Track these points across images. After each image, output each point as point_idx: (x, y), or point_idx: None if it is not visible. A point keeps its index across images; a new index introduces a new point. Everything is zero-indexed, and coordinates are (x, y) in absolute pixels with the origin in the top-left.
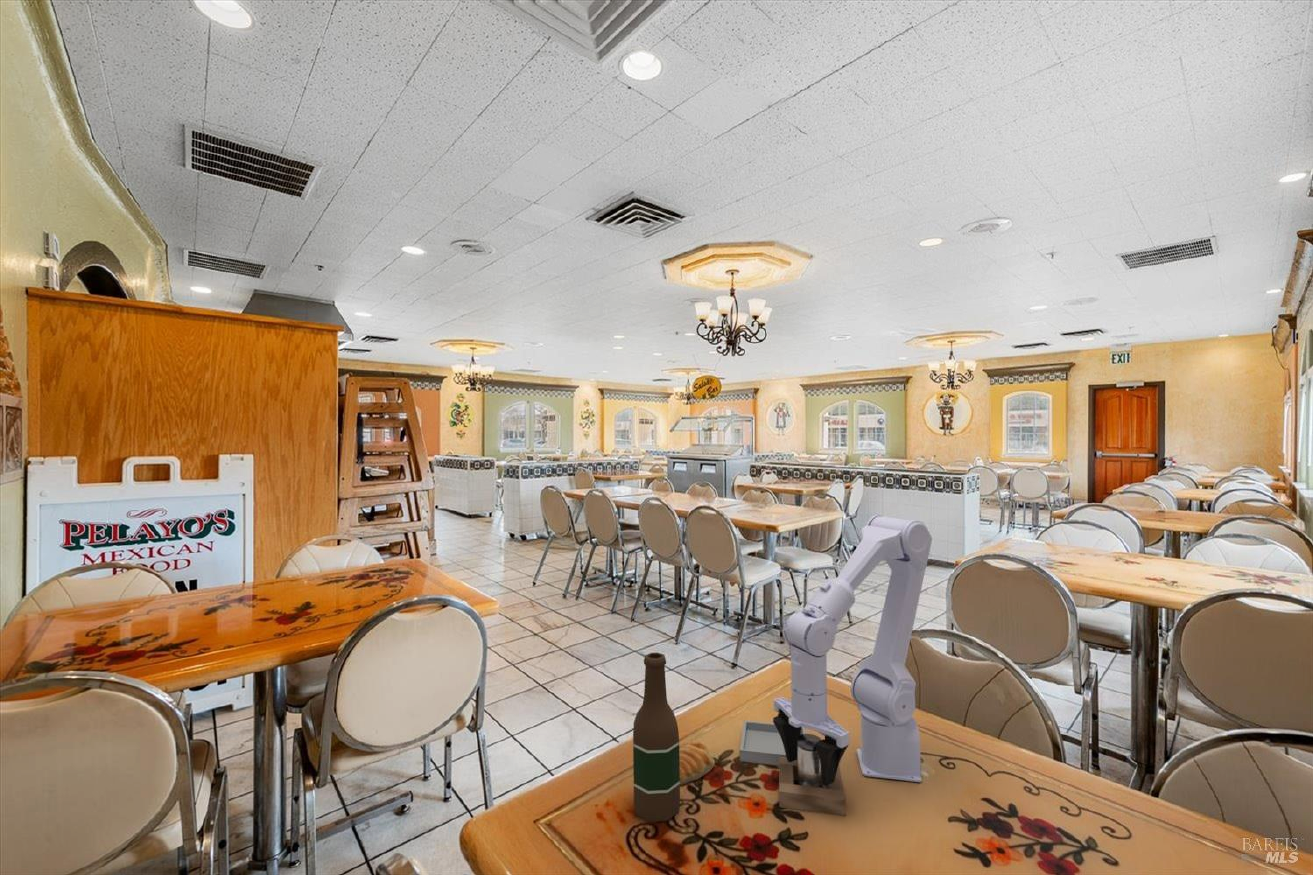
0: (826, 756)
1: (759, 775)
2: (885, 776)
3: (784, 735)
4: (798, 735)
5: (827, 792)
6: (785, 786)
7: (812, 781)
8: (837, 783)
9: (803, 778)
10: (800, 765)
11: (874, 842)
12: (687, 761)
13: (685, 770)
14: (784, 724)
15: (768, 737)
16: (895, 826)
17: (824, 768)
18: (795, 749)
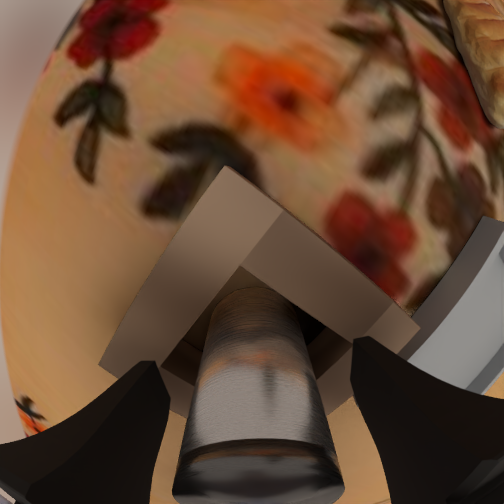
0: (17, 441)
1: (414, 223)
2: None
3: (429, 415)
4: (384, 458)
5: (141, 347)
6: (244, 219)
7: (207, 344)
8: (179, 402)
9: (237, 325)
10: (255, 355)
11: (37, 317)
12: (493, 21)
13: (468, 5)
14: (463, 480)
15: (484, 349)
16: (75, 388)
17: (93, 404)
18: (366, 399)
